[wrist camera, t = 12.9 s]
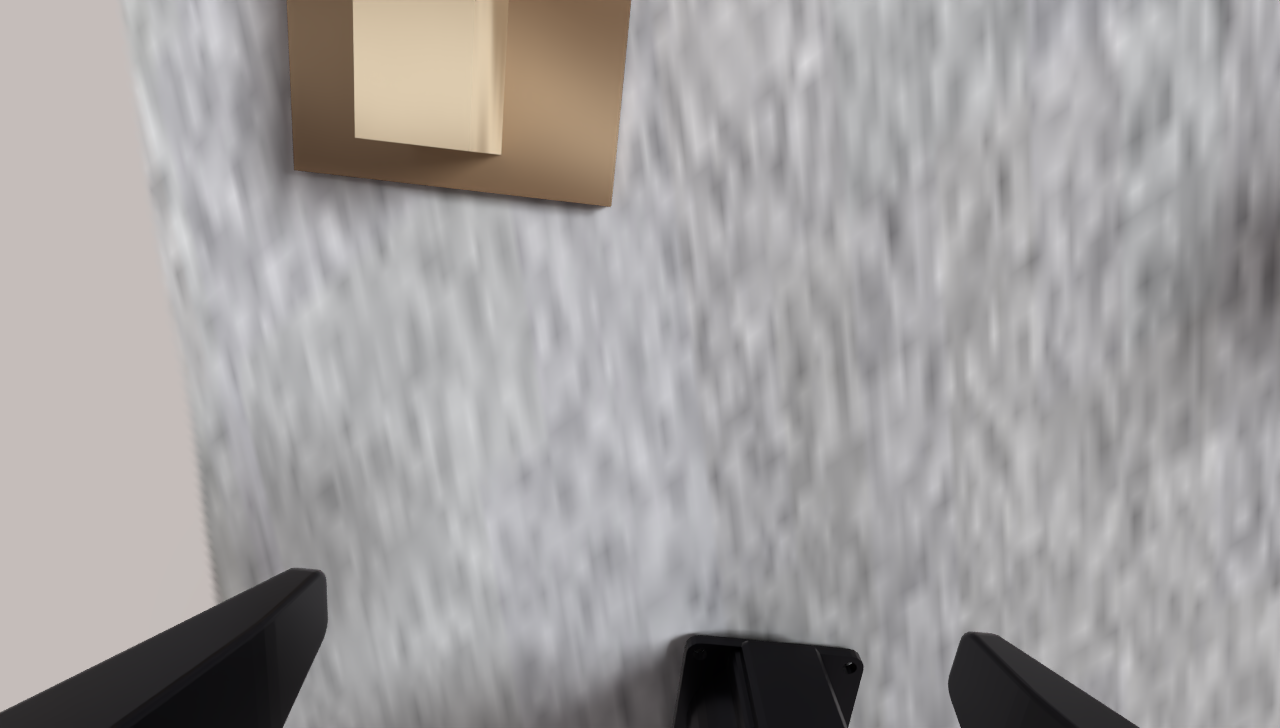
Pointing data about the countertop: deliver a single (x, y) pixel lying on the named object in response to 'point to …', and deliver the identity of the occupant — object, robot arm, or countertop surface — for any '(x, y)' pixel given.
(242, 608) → the robot arm
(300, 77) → the trivet
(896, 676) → the countertop surface
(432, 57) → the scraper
